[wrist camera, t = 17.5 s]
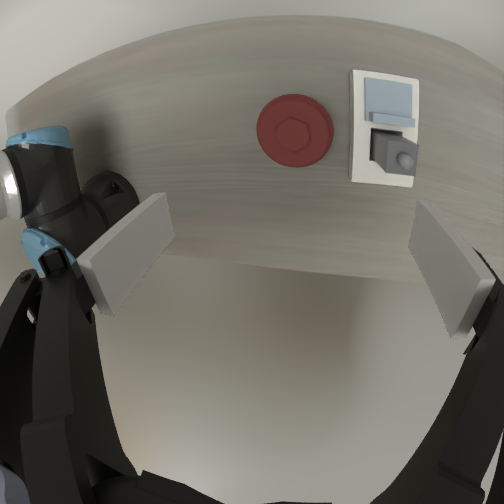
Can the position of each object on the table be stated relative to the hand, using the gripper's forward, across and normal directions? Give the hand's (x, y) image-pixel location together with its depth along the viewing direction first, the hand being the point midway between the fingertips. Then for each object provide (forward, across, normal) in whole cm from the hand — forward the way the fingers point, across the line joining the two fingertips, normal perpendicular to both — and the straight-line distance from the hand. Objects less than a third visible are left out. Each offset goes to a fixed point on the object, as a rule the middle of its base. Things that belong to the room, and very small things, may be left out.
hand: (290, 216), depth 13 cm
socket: (+31, +13, +2) cm, 34 cm away
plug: (+31, +13, 0) cm, 34 cm away
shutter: (+27, +13, +6) cm, 31 cm away
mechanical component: (+32, 0, +1) cm, 32 cm away
